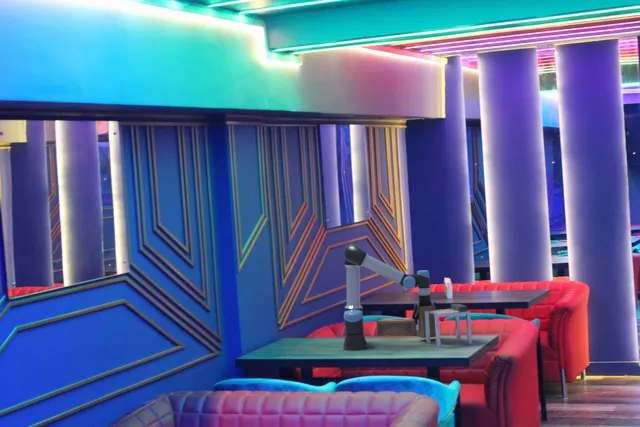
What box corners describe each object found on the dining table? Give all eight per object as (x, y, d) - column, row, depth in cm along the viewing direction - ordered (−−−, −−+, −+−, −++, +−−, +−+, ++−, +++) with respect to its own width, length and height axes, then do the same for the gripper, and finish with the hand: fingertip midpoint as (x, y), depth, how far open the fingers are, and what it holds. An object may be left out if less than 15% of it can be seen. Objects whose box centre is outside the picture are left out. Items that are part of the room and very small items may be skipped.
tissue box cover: (420, 332, 645) (419, 317, 645) (413, 336, 633) (412, 321, 632) (385, 332, 657) (384, 318, 657) (377, 335, 644) (376, 321, 644)
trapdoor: (429, 312, 596) (429, 306, 596) (458, 310, 600) (457, 303, 600) (438, 315, 580) (437, 309, 579) (467, 312, 583) (467, 306, 583)
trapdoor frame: (426, 342, 598) (424, 311, 598) (459, 339, 603) (457, 307, 602) (437, 347, 577) (435, 314, 577) (472, 344, 581) (469, 311, 581)
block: (423, 338, 603) (421, 307, 602) (416, 336, 612) (414, 305, 611) (437, 336, 606) (435, 305, 606) (430, 335, 616) (428, 304, 615)
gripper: (408, 296, 603) (410, 331, 603) (443, 293, 607) (445, 328, 608) (405, 295, 610) (407, 329, 610) (440, 292, 615) (441, 326, 615)
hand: (426, 329), depth 609 cm, fingers closed on block, 11 cm apart
